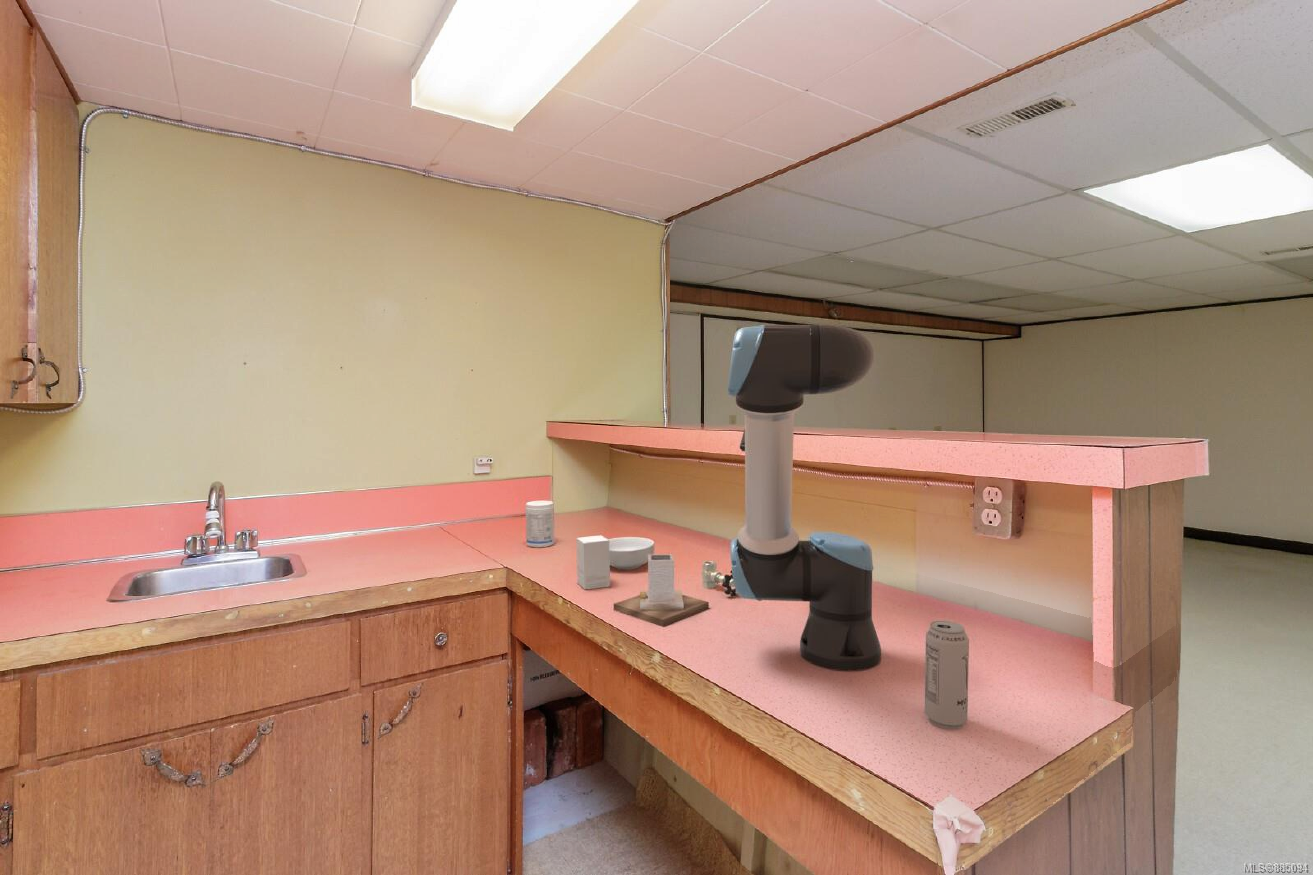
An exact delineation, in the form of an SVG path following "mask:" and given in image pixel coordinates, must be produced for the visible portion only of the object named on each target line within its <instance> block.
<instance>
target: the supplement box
mask: <svg viewBox="0 0 1313 875" xmlns="http://www.w3.org/2000/svg"><path fill="white" fill-rule="evenodd" d="M576 568H577V569H576V571H577V580H576V581H577V584H579V586H580V587H581V586H582V589H583V590H585V591H586V589H587V590H594V589H600V588H601V589H603V588H609V586H610V587H611V565H610V554H609V540H608V538H606V537H605V536H603V535H601V534H600V535H592V536H591V535H590V536H583V537H576Z"/></svg>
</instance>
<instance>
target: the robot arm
mask: <svg viewBox="0 0 1313 875" xmlns="http://www.w3.org/2000/svg"><path fill="white" fill-rule="evenodd" d="M731 350H732V351H731V358H730V359H731V360H730V365H729V366H730V368H729V375H728V376H729V377H728V384H727V392H726V393H727V394H728V395H729V396H732V397H735V405H736V407H737V408H738V409H739V410H740V411H741V412H742V413H744V429H743V432H742V436H741V440H740V444H739V449H740V450H741V452H744V471H745V472H744V475H745V476H744V478H745V479H744V484H745V486H744V487H745V489H744V490H745V491H744V492H745V503H744V504H745V509H744V510H745V511H744V512H745V525H744V526H742V527H741V528H740V529H739V531H738V532H737V537H736V538H733V539H732V540H730V541H731V542H730V548H729V549H730V550H729V551H730V560H731V570H732V573H731V575H733V581H734V589H736V595H737V596H739V597H740V598H742V599H745V600H756V601H759V602H760V601H761V602H762V601H777V602H779V601H780V602H781V601H782V602H784V601H786V602H805V603H806V602H808V604H809V607H808V608H809V609H808V610H809V611H808V616H807V619H806V621H805V625H804V627H803V630H802V634H801V637H800V639H799V640H800V641H799V652H800V655H801V656H802V657H803V659H805V660H806V661H808V662H810V663H811V664H813V665H815V666H816V665H817V667H823V668H826V669H829V670H830V669H831V670H835V671H845V672H846V671H850V672H853V671H864V670H869V669H872V668H875V667H876V666H878V665H879V664H880V663H881V660H882V646H881V643H880V640H879V637H878V634H877V633H878V632H877V631H876V627H875V624H874V622H873V614H872V613H873V609H872V608H873V571H874V565H873V552H872V548H871V547H870V545H869V544H868V543H867V542H866V541H864V540H862V539H859V538H857V537H854V536H851V535H847V534H843V533H837V532H831V531H829V532H828V531H820V532H819V531H814V532H811V533H810V534H809V537H808V540H800V536H799V533H798V532H797V530H796V529H795V528H794V527H792V512H793V511H792V510H793V509H792V508H793V507H792V505H793V470H794V469H793V467H794V466H793V465H794V463H793V462H794V433H795V432H794V431H795V429H794V427H795V426H794V425H795V424H794V423H795V413H797V411H799V410H800V409H801V408H803V406H804V396H806V395H824V394H832V393H836V392H839V391H843V390H845V389H849V388H850V387H853V386H854V385H855V384H857V383H859V382H861V381H862V380H863V379H864V378H865V377H866V376H867V375H868V374H869V372H870V370H871V369H872V367H873V364H874V362H875V360H874V358H875V354H874V347H873V345H872V343H871V340H869V338H868V337H867V336H866V335H865V334H863V333H862V332H861V331H859V330H857V329H854V328H851V327H847V326H846V327H845V326H841V325H837V324H830V323H829V324H828V323H823V324H822V323H820V324H818V323H817V324H781V325H778V324H777V325H773V324H772V325H771V324H769V325H764V324H760V325H758V326H757V325H756V326H747V327H746V326H745V327H744V326H743V327H742V328H739V329H738V330H737V331H735V334H734V336H733V343H732V349H731Z"/></svg>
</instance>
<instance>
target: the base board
mask: <svg viewBox="0 0 1313 875" xmlns="http://www.w3.org/2000/svg"><path fill="white" fill-rule="evenodd" d="M682 598H683V603H684V610H640V599H646V592H640V591H639V595H635V596H634V597H631V598H630V597H629V598H627V599H624V600H621V601H617V602H614V603H613V611H615V610H616V612H618V611H619V613H622V614H624V615H627V614H628V616H630V615H631V616H630V617H634V618H637V619H639V618H640V620H642V621H646V622H649V623H651V624H655V625H657V626H660V627H665V626H667V625H670V624H672V623H675V622H678V621H680V620H682V619H685V618H688V617H689V616H693V615H695V614H698V613H701V612H703V611H705V610H707V609H709V608H710V606H709V601H706V600H702V599H699V598H696V597H692V596H689V595H684V594H682Z"/></svg>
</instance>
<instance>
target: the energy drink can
mask: <svg viewBox="0 0 1313 875" xmlns="http://www.w3.org/2000/svg"><path fill="white" fill-rule="evenodd" d="M965 630H966V628H965V627H964V626H963V625H962V624H960V623H957V622H955V621H950V620H934V621H932V622H930V625H929V628H928V630H927V631H926V633H925V657H924V658H925V662H924V664H925V666H924V667H925V668H924V669H925V670H924V674H925V675H924V714H925V716H926V717H927V719H928V721H929V722H930V723H931V724H932V725H934V726H936V727H938V728H941V729H945V730H960V729H962V727H964V724H965V723H967V722H968V711H969V710H968V705H969V703H968V702H969V698H968V697H969V662H970V661H969V655H970V654H969V653H970V639H969V637H968V635H967V634H966V632H965Z"/></svg>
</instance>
